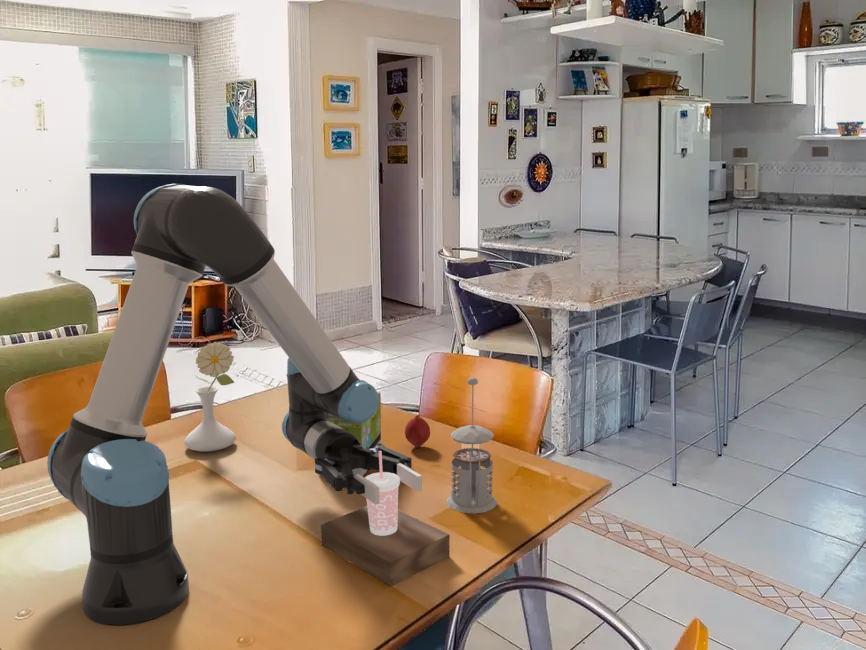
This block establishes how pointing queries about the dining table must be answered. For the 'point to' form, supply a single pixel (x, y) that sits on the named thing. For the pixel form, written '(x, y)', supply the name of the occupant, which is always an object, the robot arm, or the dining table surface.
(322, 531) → the walnut pedestal
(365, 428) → the tea box
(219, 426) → the flower in vase
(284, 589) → the dining table surface
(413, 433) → the onion
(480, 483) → the french press
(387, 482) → the beverage cup
